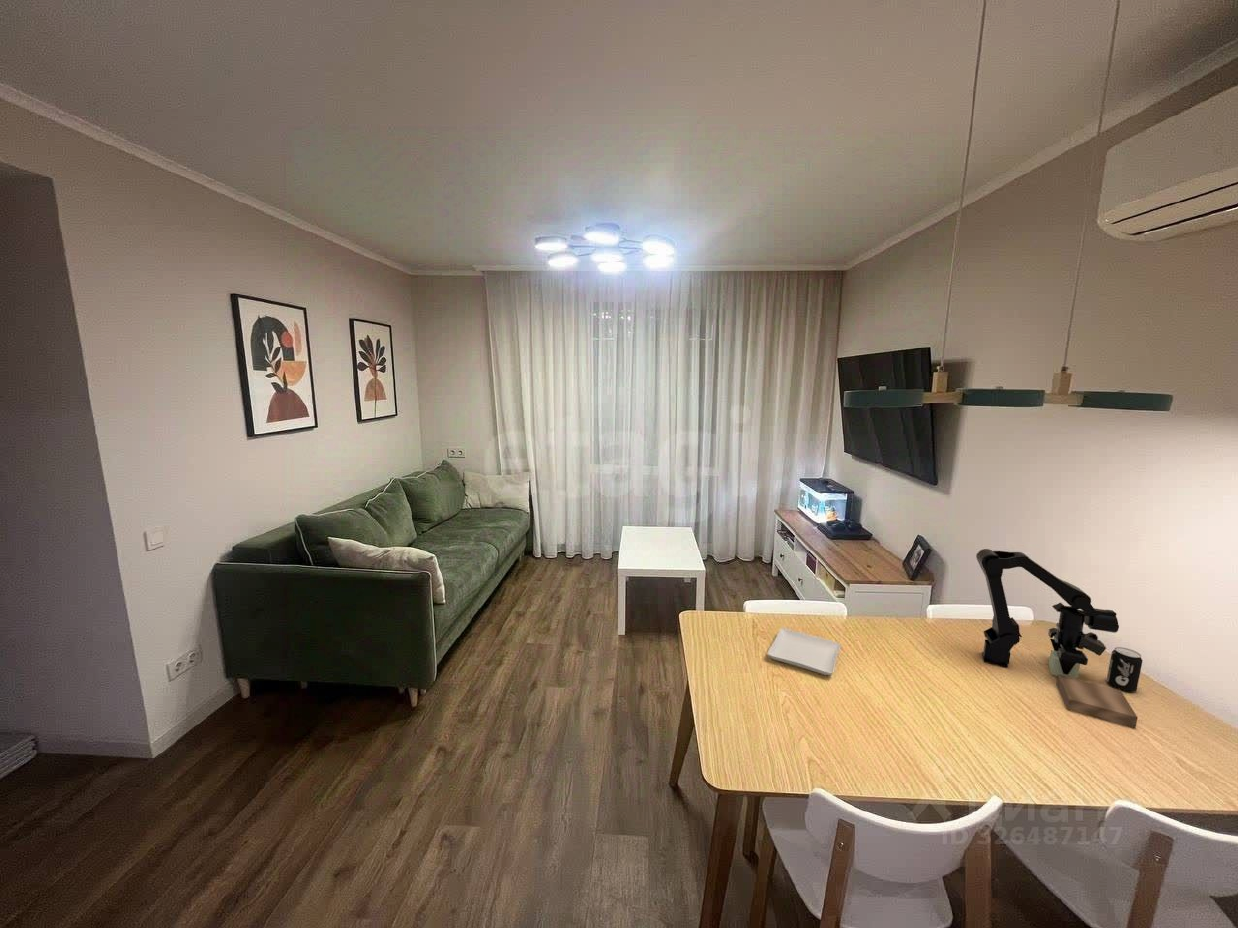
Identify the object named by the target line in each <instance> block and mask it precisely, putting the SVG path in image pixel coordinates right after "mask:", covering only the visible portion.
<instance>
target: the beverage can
mask: <svg viewBox="0 0 1238 928" xmlns="http://www.w3.org/2000/svg"><path fill="white" fill-rule="evenodd" d="M1142 665H1143V659H1142V654H1141V653H1140V652H1138V651H1136V650H1133V649H1130V648H1128V647H1122V646H1115V647H1114V650H1112V651H1111V654H1110V660H1109V665H1108V670H1107V675H1106V681H1107V683H1108V685H1110V686H1111V688H1112V687H1113V688H1114V689H1118V690H1121V692H1122V691H1123V692H1125V693H1126V692H1127V693H1133V692H1135V691H1137V689H1138V686H1139V680H1140V676H1141V671H1142V670H1141V669H1142Z"/></svg>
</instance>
